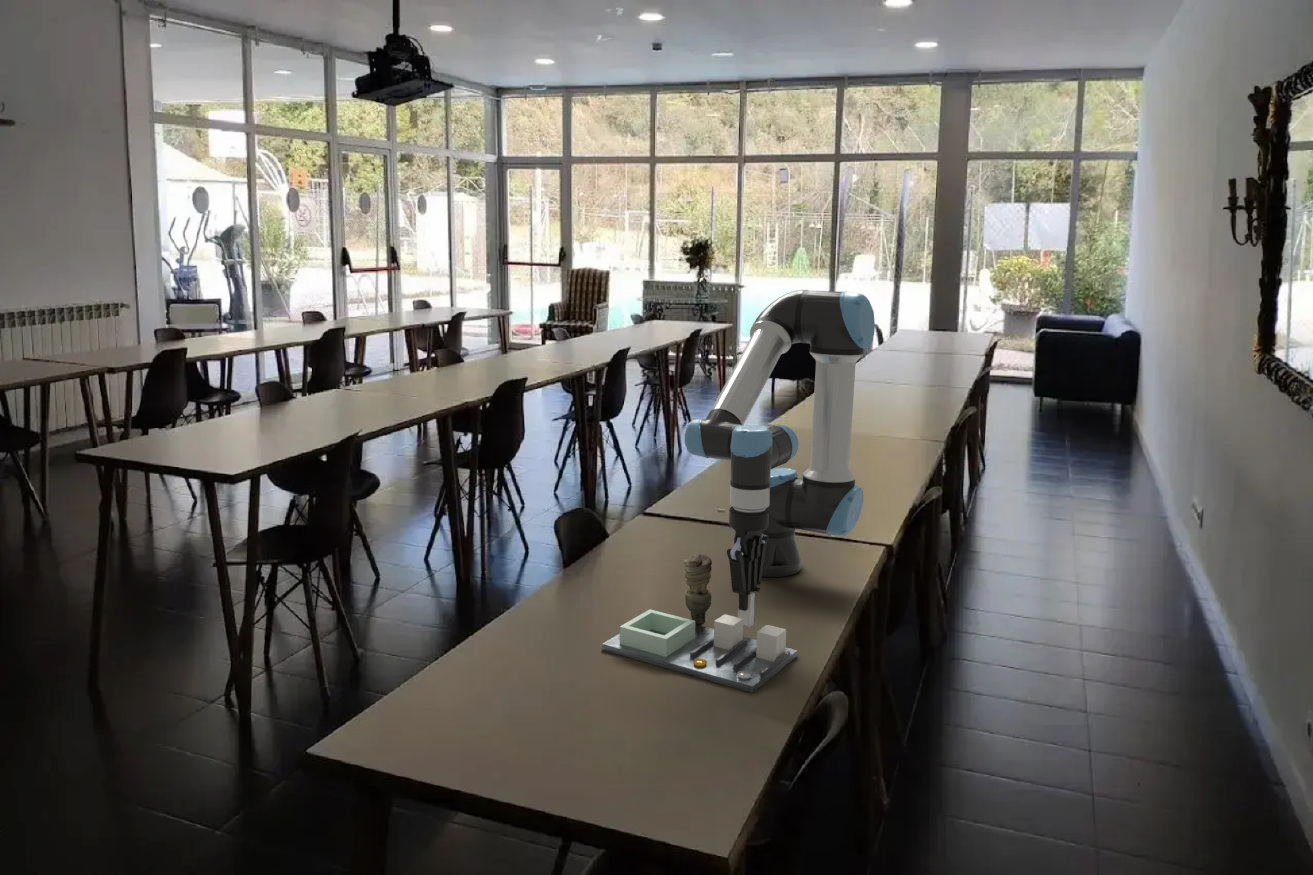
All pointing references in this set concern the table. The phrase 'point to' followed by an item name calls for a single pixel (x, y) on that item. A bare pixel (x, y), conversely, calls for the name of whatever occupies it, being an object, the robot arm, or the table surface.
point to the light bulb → (698, 586)
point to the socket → (663, 645)
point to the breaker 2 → (770, 642)
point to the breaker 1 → (728, 631)
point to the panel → (711, 660)
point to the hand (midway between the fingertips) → (745, 623)
